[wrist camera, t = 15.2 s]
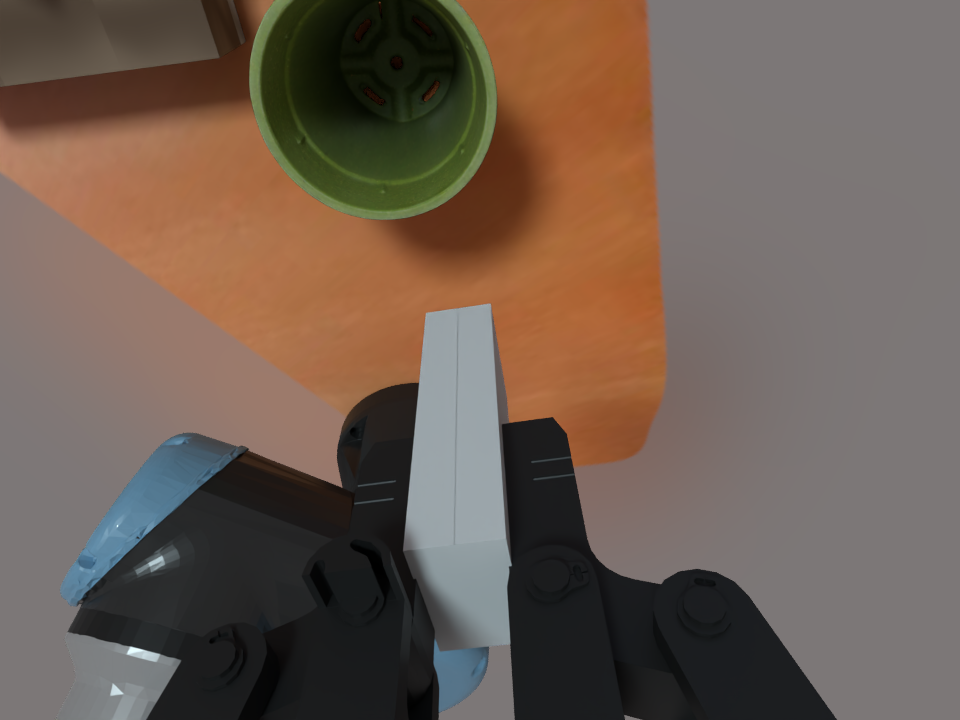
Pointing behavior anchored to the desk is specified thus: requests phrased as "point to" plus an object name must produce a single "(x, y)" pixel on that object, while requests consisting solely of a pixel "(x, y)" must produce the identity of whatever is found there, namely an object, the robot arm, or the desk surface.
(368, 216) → the plant pot
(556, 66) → the desk surface
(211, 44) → the socket block
